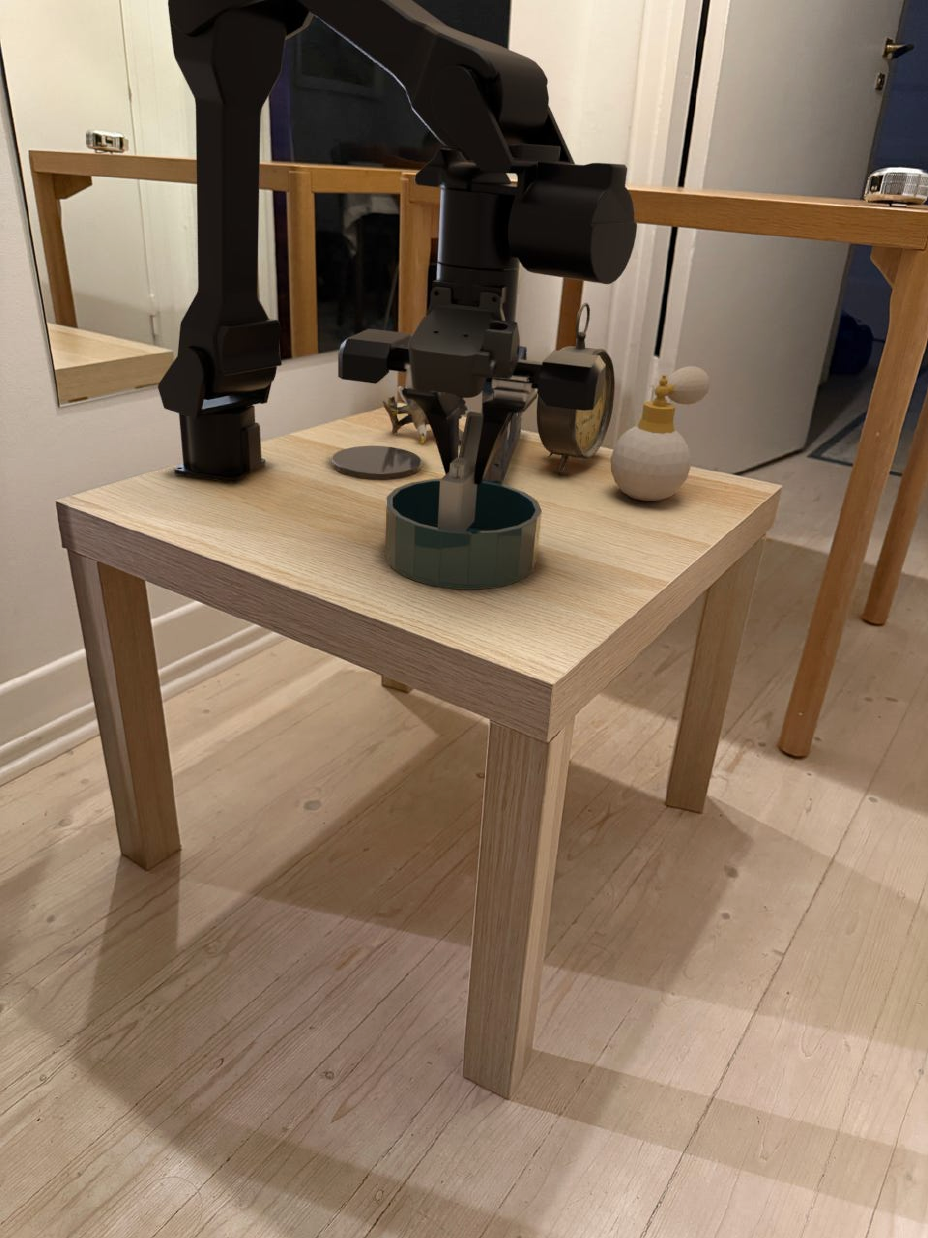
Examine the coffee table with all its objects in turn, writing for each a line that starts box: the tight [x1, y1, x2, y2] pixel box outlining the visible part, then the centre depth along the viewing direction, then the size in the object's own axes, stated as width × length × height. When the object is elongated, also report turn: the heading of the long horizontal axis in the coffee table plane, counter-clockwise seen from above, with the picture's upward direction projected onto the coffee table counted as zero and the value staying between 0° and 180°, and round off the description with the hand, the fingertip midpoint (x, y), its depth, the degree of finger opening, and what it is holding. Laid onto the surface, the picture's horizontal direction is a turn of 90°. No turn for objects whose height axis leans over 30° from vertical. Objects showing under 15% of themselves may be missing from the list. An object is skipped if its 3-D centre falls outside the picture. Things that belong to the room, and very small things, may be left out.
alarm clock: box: [536, 302, 616, 476], centre depth 92 cm, size 11×5×16 cm, turn 151°
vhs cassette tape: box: [480, 345, 528, 484], centre depth 94 cm, size 18×3×10 cm, turn 169°
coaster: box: [331, 445, 422, 480], centre depth 92 cm, size 9×9×1 cm
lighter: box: [438, 411, 483, 531], centre depth 69 cm, size 7×2×8 cm, turn 162°
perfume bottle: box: [610, 365, 710, 502], centre depth 86 cm, size 8×10×12 cm
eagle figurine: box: [382, 385, 468, 445], centre depth 100 cm, size 8×7×9 cm
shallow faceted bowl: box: [384, 478, 543, 590], centre depth 71 cm, size 12×12×4 cm
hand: (464, 481), depth 70 cm, fingers closed on lighter, 2 cm apart
